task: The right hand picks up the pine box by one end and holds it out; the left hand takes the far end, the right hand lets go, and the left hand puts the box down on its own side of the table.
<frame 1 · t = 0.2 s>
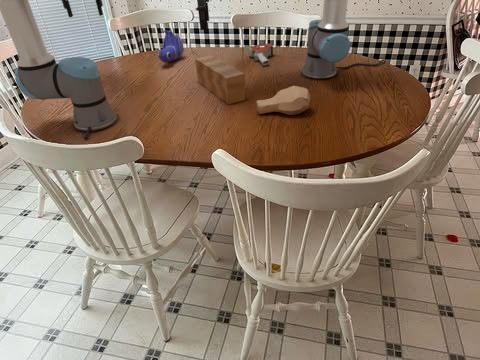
left hand: (86, 16, 157), 28 cm above the table, tool pointing down, fingers open, 13 cm apart
right hand: (205, 25, 134), 27 cm above the table, tool pointing down, fingers open, 13 cm apart
tape dispenser: (260, 59, 183), on the table
box: (220, 90, 152), on the table
squash: (283, 112, 132), on the table
toy: (171, 62, 187), on the table
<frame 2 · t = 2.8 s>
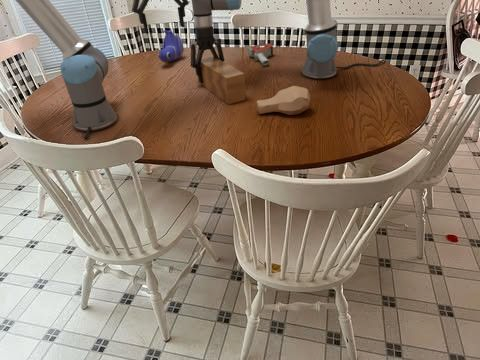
left hand: (165, 29, 130), 27 cm above the table, tool pointing down, fingers open, 13 cm apart
right hand: (209, 80, 159), 1 cm above the table, tool pointing down, fingers closed on box, 8 cm apart
box: (220, 90, 152), on the table, touching right hand
everything else where it was.
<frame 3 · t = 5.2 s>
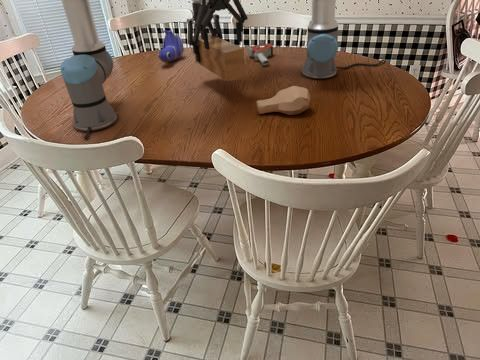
left hand: (223, 44, 132), 22 cm above the table, tool pointing down, fingers open, 13 cm apart
right hand: (207, 59, 154), 11 cm above the table, tool pointing down, fingers closed on box, 8 cm apart
box: (218, 68, 147), point 9 cm above the table, touching right hand
everything else where it was.
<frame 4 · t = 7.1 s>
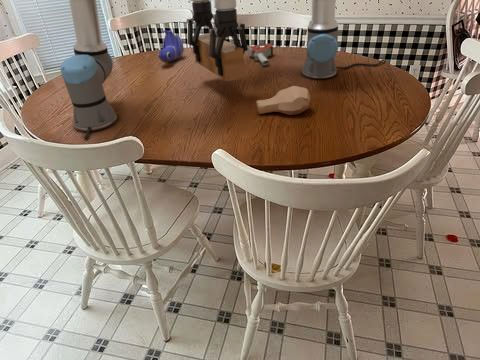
left hand: (230, 72, 138), 11 cm above the table, tool pointing down, fingers closed on box, 8 cm apart
right hand: (207, 59, 154), 11 cm above the table, tool pointing down, fingers closed on box, 8 cm apart
box: (218, 68, 147), point 9 cm above the table, touching left hand, right hand
everything else where it was.
when the right hand's fingers open (11 cm above the table, at t = 8.0 s): box stays where it is, held by the left hand.
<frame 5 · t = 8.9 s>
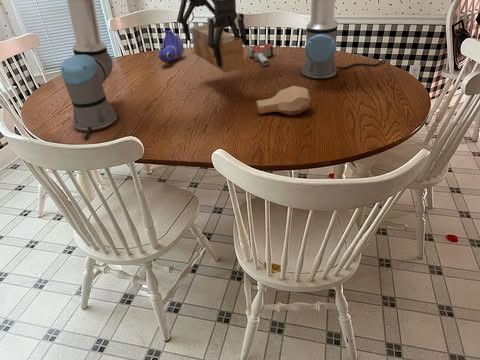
left hand: (229, 63, 136), 14 cm above the table, tool pointing down, fingers closed on box, 8 cm apart
right hand: (203, 37, 150), 19 cm above the table, tool pointing down, fingers open, 13 cm apart
box: (217, 60, 145), point 13 cm above the table, touching left hand
everything else where it was.
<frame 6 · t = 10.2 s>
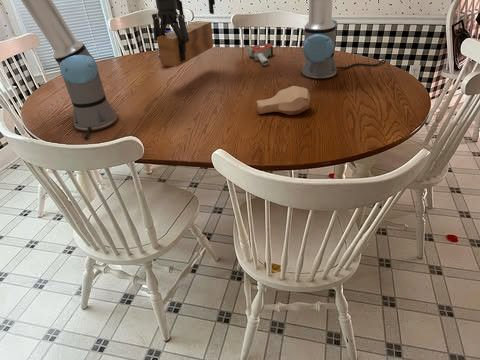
left hand: (174, 59, 146), 14 cm above the table, tool pointing down, fingers closed on box, 8 cm apart
right hand: (197, 16, 148), 27 cm above the table, tool pointing down, fingers open, 13 cm apart
box: (188, 55, 154), point 12 cm above the table, touching left hand
everything else where it was.
when the left hand's fingers open (3 cm above the table, at t = 13.3 s): box drops 1 cm, on the table.
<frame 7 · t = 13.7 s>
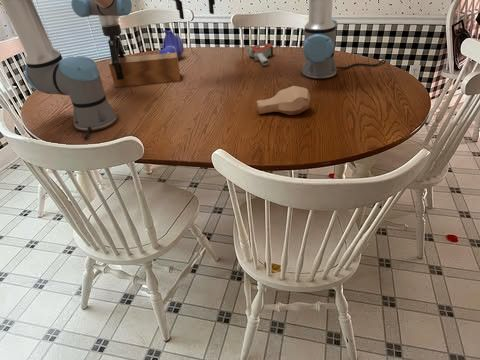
left hand: (122, 74, 163), 4 cm above the table, tool pointing down, fingers open, 13 cm apart
right hand: (197, 16, 148), 27 cm above the table, tool pointing down, fingers open, 13 cm apart
box: (148, 81, 166), on the table
everything else where it was.
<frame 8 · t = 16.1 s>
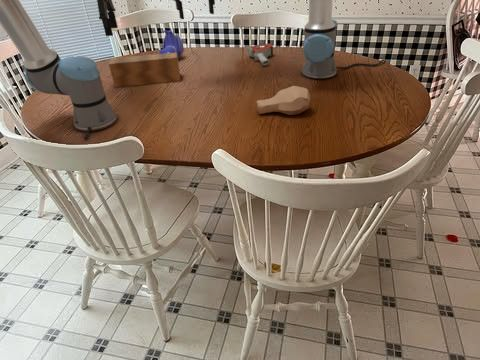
left hand: (112, 31, 152), 23 cm above the table, tool pointing down, fingers open, 13 cm apart
right hand: (197, 16, 148), 27 cm above the table, tool pointing down, fingers open, 13 cm apart
nothing on the table moved.
at the end: box inside the target area (10.7 cm from its centre), on the table; the left hand is holding nothing; the right hand is holding nothing; box at rest at the end (0.0 cm/s) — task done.
